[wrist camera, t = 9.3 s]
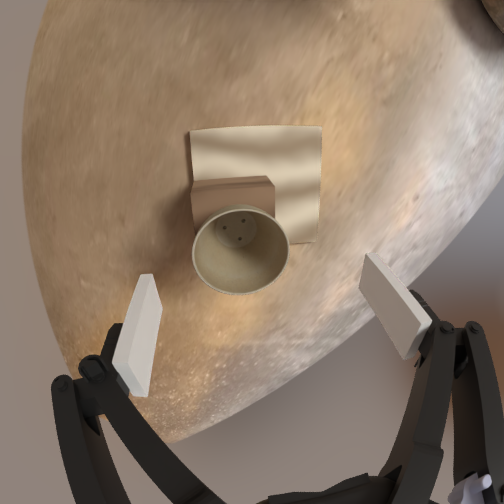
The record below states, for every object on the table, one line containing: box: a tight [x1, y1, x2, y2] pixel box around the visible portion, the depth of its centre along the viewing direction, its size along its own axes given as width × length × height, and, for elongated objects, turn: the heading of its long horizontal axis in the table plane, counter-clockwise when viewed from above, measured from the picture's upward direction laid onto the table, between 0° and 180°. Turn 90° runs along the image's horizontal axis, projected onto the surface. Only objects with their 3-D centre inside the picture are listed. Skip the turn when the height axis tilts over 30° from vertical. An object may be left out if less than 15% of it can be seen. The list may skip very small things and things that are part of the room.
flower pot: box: [192, 204, 290, 295], centre depth 31 cm, size 10×10×7 cm
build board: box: [190, 125, 322, 244], centre depth 39 cm, size 18×18×1 cm
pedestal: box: [190, 175, 275, 239], centre depth 37 cm, size 10×10×6 cm
